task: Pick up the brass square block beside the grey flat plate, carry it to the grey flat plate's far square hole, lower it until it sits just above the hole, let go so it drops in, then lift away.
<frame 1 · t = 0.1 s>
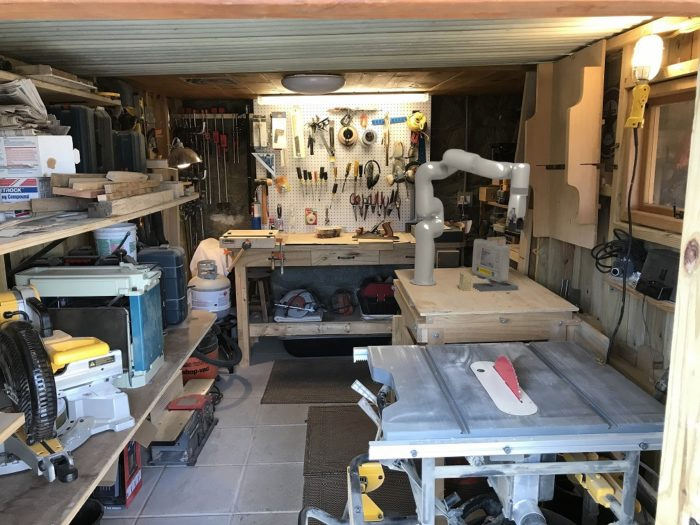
hand: (515, 230, 242), 31 cm above the table, tool pointing down, fingers open, 9 cm apart
brass block: (464, 289, 262), on the table
network device: (488, 280, 283), on the table
grey flat plate: (495, 288, 266), on the table
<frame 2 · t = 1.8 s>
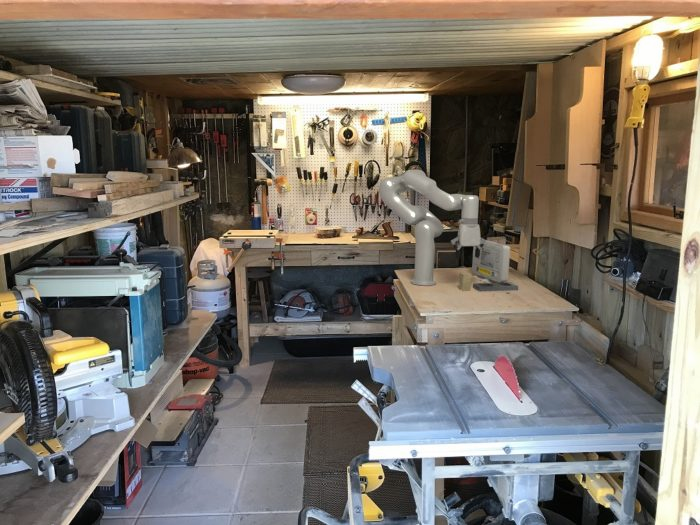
hand: (467, 257, 259), 16 cm above the table, tool pointing down, fingers open, 9 cm apart
nothing on the table moved.
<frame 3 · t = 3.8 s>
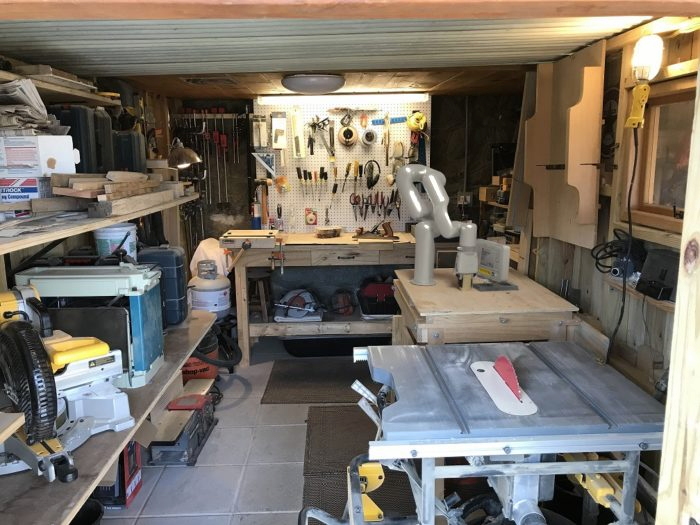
hand: (464, 286, 262), 2 cm above the table, tool pointing down, fingers closed on brass block, 4 cm apart
brass block: (464, 289, 262), on the table, touching gripper
everything else where it was.
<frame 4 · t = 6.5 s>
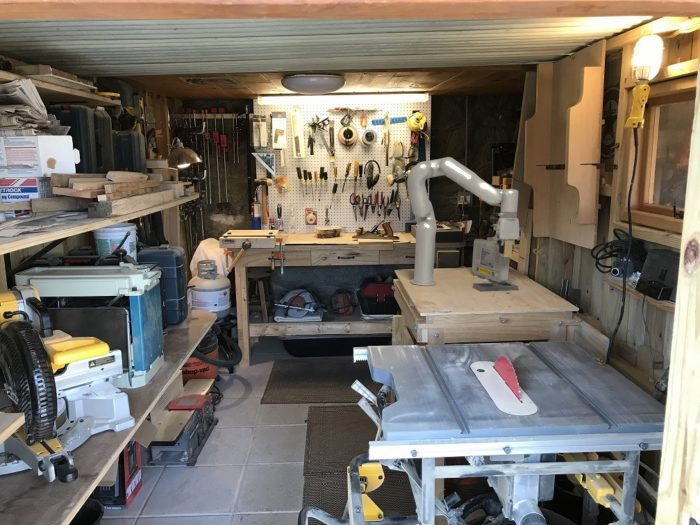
hand: (505, 252, 263), 18 cm above the table, tool pointing down, fingers closed on brass block, 4 cm apart
brass block: (505, 256, 264), point 16 cm above the table, touching gripper
everything else where it was.
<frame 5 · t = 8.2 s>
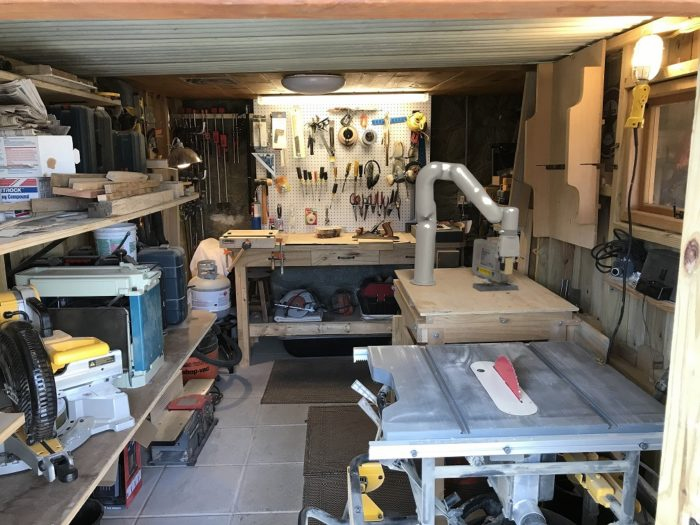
hand: (506, 270, 265), 9 cm above the table, tool pointing down, fingers closed on brass block, 4 cm apart
brass block: (506, 273, 265), point 8 cm above the table, touching gripper
everything else where it was.
when the fingers open (4 cm above the table, at t = 9.5 s): brass block drops 2 cm, resting in grey flat plate.
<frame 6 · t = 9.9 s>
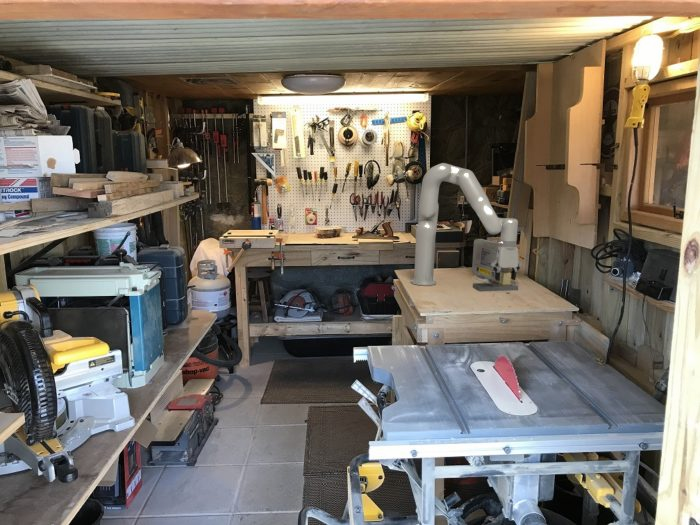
hand: (505, 279, 266), 4 cm above the table, tool pointing down, fingers open, 7 cm apart
brass block: (504, 288, 267), resting in grey flat plate
everything else where it was.
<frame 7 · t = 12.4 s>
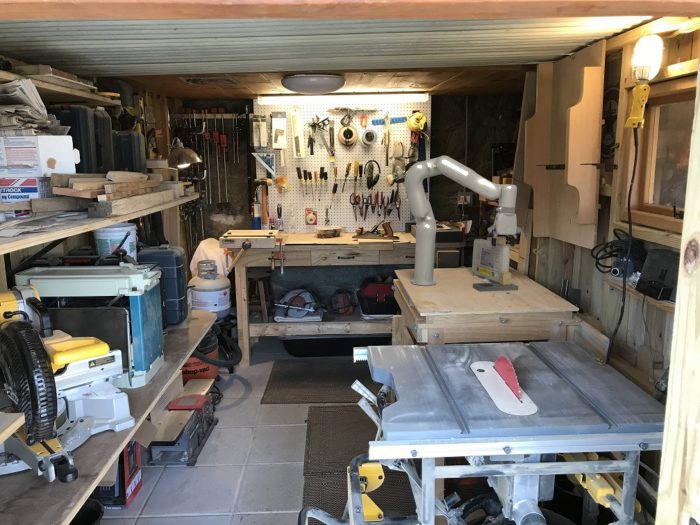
hand: (502, 246, 263), 21 cm above the table, tool pointing down, fingers open, 9 cm apart
nothing on the table moved.
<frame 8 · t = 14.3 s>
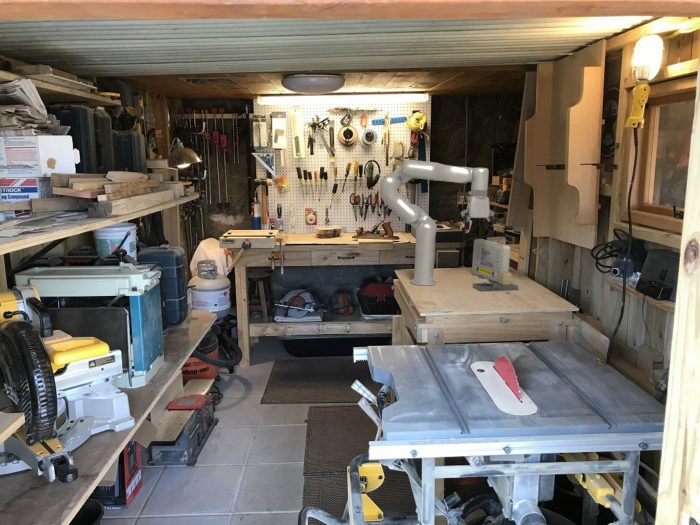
hand: (476, 229, 264), 28 cm above the table, tool pointing down, fingers open, 9 cm apart
nothing on the table moved.
at the end: brass block 0.2 cm from the target spot on the grey flat plate, point 0.0 cm above the grey flat plate's base; brass block tilted 0°; the gripper is holding nothing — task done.
